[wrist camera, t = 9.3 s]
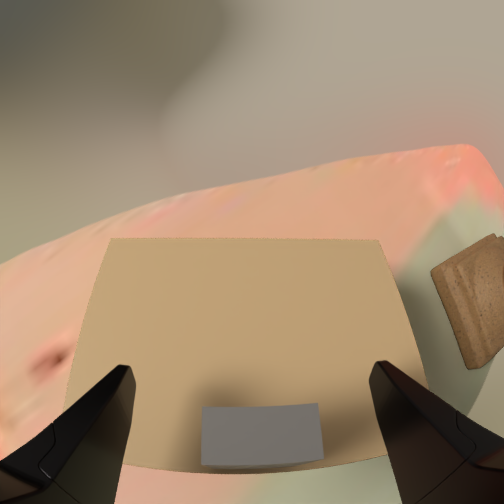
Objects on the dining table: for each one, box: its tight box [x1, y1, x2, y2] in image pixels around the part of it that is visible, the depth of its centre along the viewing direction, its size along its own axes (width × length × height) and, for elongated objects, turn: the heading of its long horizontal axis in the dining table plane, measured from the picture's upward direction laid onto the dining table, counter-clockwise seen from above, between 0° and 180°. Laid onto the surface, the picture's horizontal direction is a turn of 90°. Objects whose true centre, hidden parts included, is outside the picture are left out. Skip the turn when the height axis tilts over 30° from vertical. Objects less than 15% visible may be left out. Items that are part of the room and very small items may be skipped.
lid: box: [63, 238, 429, 474], centre depth 12 cm, size 12×16×5 cm
